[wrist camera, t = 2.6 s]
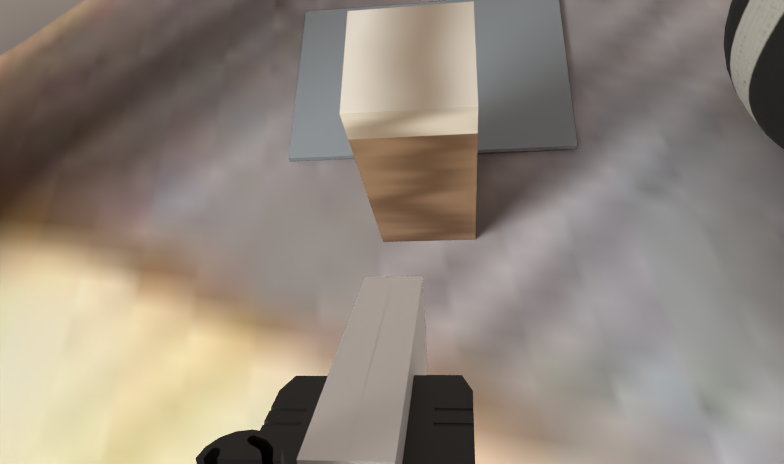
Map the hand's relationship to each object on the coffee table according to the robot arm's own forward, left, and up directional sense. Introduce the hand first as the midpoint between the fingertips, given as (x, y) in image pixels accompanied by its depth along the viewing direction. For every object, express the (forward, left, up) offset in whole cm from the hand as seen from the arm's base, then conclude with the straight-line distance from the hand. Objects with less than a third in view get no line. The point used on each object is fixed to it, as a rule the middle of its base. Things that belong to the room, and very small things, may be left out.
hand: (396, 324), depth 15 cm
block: (0, +14, -20) cm, 24 cm away
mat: (0, +24, -20) cm, 31 cm away
